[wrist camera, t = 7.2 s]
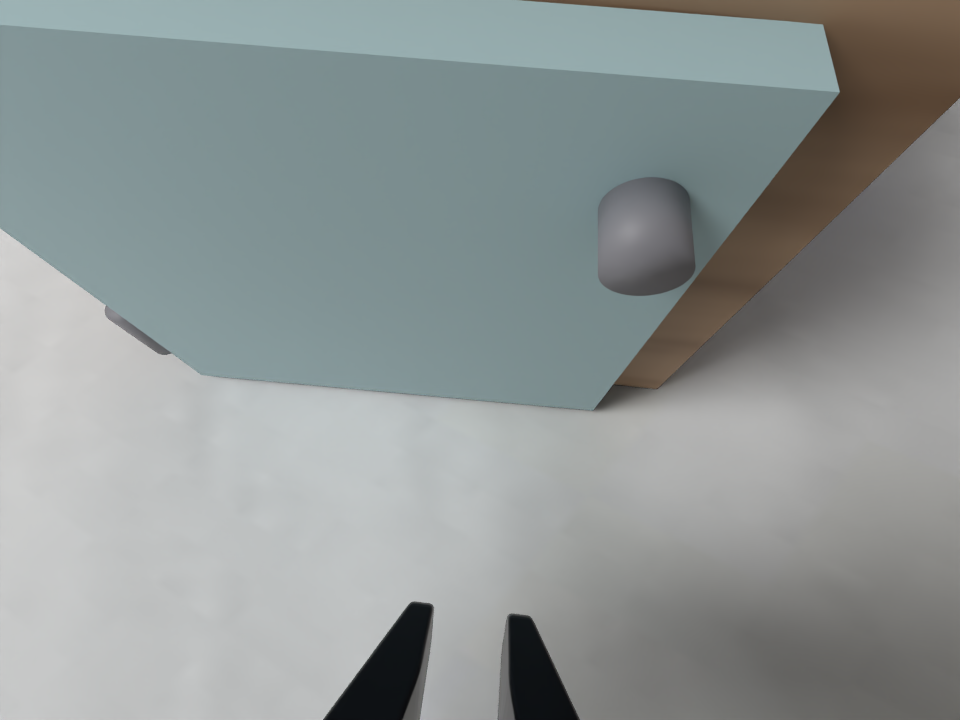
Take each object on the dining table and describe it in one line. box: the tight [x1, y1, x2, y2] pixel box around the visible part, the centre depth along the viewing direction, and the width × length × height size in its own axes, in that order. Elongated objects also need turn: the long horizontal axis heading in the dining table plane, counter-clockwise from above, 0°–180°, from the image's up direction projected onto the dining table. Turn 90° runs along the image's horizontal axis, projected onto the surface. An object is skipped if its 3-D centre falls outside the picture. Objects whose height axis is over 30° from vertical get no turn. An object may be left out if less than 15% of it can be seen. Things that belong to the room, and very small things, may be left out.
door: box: [0, 0, 840, 410], centre depth 12 cm, size 15×2×13 cm, turn 85°
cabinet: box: [522, 0, 960, 389], centre depth 13 cm, size 7×18×15 cm, turn 84°
